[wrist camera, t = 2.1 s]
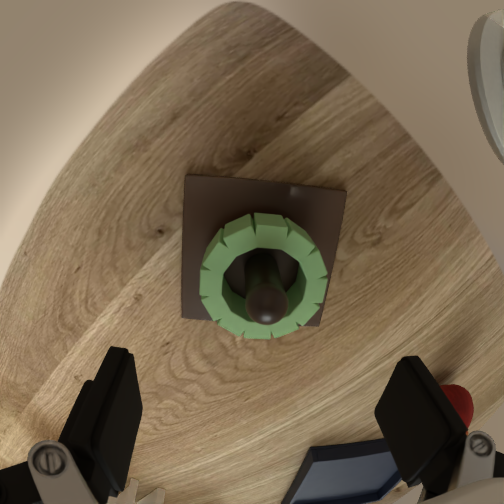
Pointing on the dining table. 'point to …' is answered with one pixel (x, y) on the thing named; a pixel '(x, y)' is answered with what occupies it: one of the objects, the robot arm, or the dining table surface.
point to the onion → (460, 402)
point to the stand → (259, 259)
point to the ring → (248, 238)
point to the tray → (345, 474)
